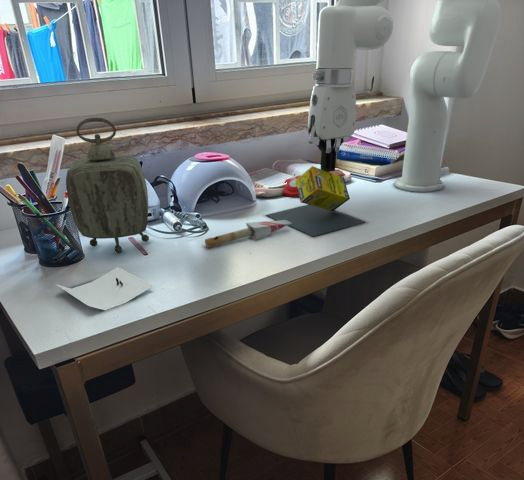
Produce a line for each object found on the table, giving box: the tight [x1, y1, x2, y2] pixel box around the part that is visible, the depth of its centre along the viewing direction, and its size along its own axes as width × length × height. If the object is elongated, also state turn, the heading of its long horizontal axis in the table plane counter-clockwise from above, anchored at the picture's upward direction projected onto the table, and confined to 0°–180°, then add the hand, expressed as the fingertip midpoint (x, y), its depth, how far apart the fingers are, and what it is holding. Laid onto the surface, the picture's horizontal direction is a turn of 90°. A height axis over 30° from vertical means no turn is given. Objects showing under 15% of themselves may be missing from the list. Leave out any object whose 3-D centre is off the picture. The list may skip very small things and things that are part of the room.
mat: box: [265, 204, 366, 238], centre depth 116 cm, size 15×18×1 cm
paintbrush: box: [204, 220, 292, 249], centre depth 106 cm, size 4×3×20 cm
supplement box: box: [295, 165, 351, 211], centre depth 114 cm, size 6×6×11 cm
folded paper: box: [55, 266, 154, 311], centre depth 86 cm, size 12×12×2 cm
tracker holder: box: [281, 174, 302, 198], centre depth 133 cm, size 12×4×10 cm
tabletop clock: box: [65, 117, 150, 254], centre depth 96 cm, size 14×9×25 cm, turn 100°
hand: (327, 170), depth 113 cm, fingers closed
